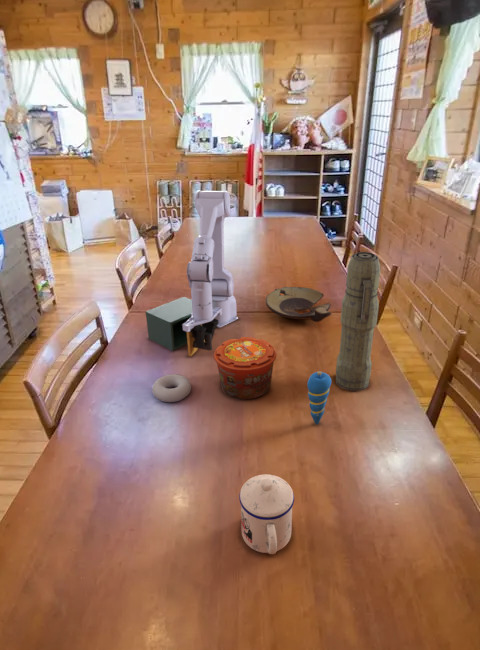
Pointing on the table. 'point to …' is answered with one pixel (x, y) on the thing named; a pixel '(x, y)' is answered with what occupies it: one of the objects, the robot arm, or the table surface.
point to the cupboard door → (193, 346)
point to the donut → (172, 394)
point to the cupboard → (169, 323)
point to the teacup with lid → (266, 513)
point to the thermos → (358, 322)
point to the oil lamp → (297, 303)
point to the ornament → (318, 394)
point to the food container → (245, 367)
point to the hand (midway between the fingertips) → (204, 344)
